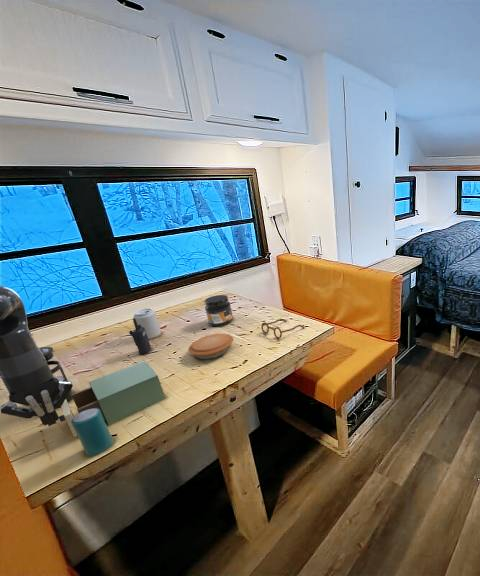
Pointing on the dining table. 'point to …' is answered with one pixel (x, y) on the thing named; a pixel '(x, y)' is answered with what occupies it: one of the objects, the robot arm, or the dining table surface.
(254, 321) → the dining table surface
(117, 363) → the dining table surface
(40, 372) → the robot arm
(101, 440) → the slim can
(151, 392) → the cabinet
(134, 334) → the two-way radio
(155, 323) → the can
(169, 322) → the dining table surface
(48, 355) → the french press
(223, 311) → the supplement container
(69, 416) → the drawer
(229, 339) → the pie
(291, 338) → the dining table surface
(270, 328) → the glasses
